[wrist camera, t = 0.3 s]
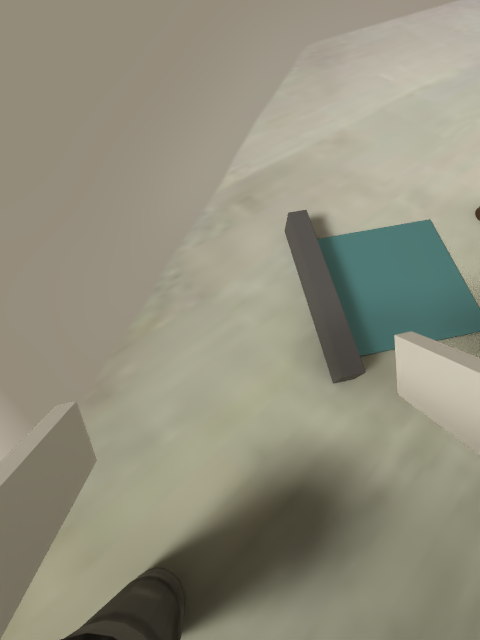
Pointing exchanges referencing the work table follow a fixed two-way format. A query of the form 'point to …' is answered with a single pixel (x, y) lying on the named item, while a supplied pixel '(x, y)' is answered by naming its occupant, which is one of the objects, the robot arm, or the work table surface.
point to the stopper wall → (323, 300)
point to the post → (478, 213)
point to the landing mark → (398, 285)
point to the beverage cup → (139, 611)
